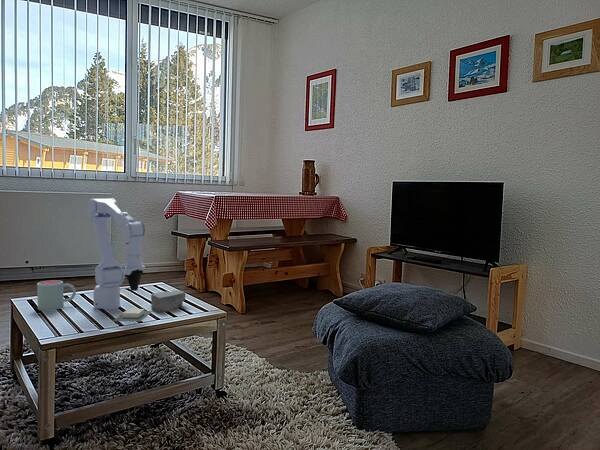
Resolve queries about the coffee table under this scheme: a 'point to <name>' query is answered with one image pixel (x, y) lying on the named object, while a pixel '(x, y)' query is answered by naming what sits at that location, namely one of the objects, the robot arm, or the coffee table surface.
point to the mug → (52, 294)
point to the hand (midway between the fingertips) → (134, 290)
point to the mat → (133, 318)
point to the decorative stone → (167, 300)
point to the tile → (133, 313)
